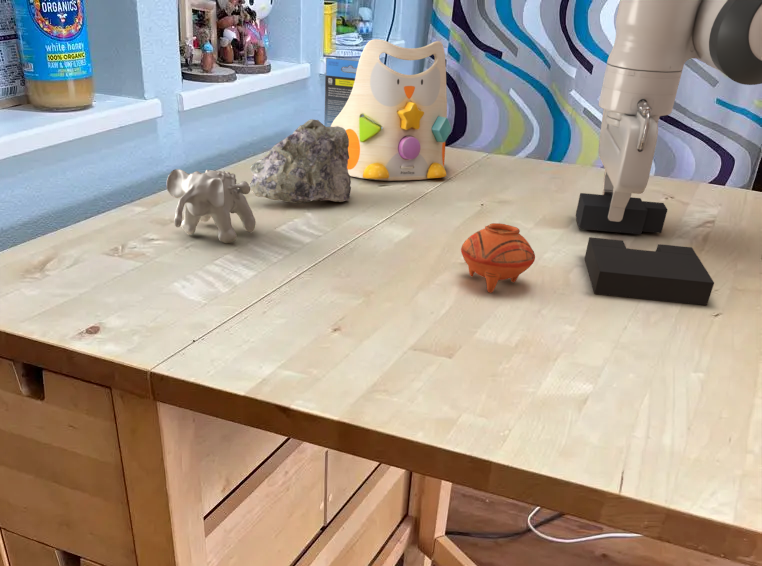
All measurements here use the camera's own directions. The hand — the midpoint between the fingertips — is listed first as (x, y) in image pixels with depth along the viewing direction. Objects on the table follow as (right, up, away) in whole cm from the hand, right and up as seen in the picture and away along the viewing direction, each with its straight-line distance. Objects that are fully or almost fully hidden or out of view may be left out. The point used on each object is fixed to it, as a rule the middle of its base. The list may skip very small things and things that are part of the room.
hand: (610, 211), depth 106 cm
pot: (-19, -15, -18) cm, 30 cm away
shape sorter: (-28, +13, +18) cm, 35 cm away
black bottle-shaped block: (+1, -2, +1) cm, 2 cm away
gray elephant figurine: (-51, -8, -12) cm, 53 cm away
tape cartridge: (-35, +27, +35) cm, 56 cm away
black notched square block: (-1, -14, -15) cm, 20 cm away
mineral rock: (-41, +3, +4) cm, 41 cm away
